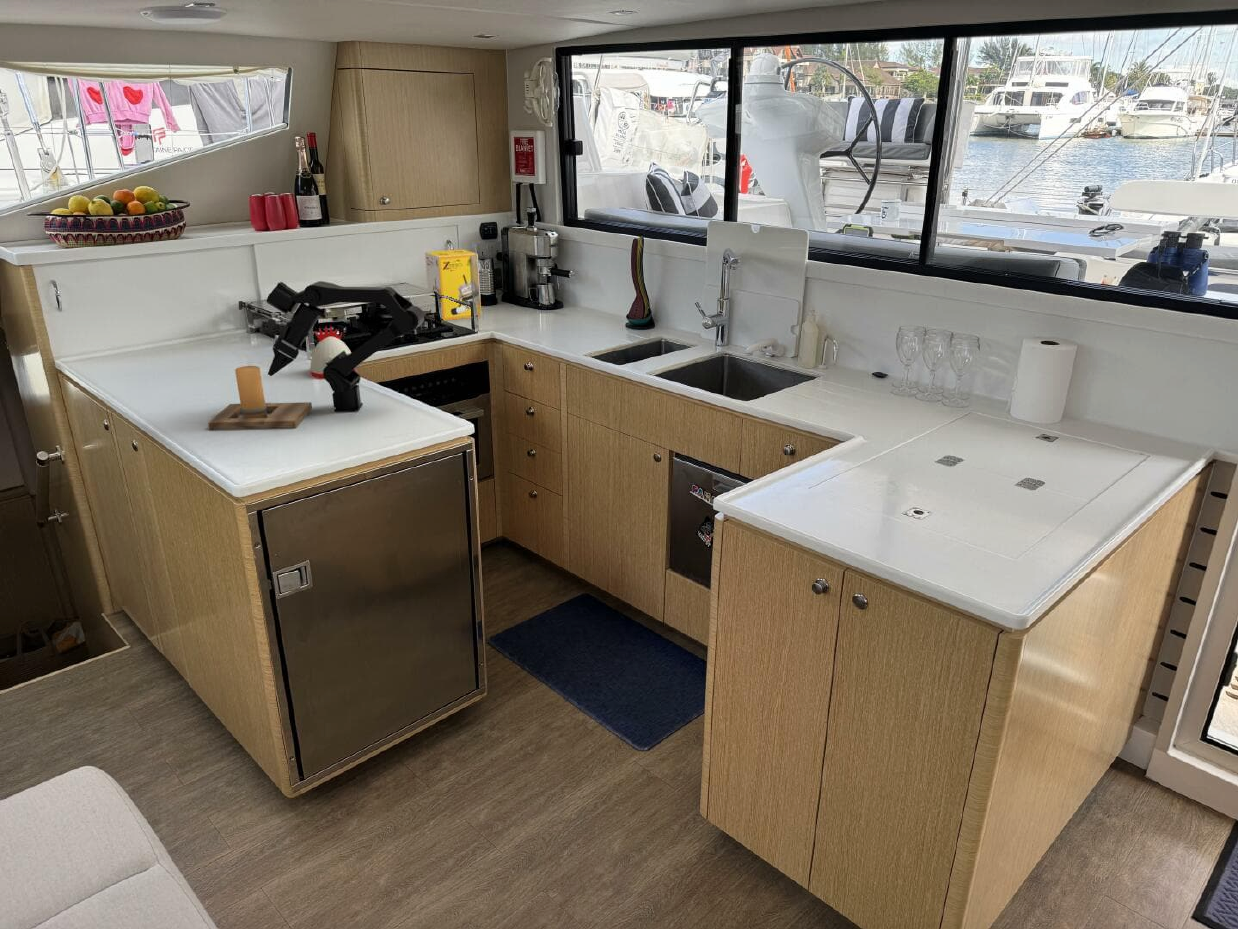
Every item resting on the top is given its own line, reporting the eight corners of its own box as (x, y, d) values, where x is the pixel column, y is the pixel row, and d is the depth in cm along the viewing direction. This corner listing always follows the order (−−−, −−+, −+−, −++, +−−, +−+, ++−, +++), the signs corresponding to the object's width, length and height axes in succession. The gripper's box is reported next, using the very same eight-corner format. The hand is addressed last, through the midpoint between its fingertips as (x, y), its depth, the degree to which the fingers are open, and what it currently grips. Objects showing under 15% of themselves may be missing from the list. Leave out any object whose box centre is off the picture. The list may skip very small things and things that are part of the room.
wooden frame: (312, 409, 242) (311, 402, 241) (295, 428, 227) (294, 420, 227) (231, 410, 241) (230, 403, 240) (209, 429, 226) (208, 422, 225)
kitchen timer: (307, 370, 280) (301, 324, 274) (351, 365, 286) (346, 319, 280) (315, 381, 268) (309, 333, 263) (360, 375, 274) (355, 328, 269)
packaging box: (481, 316, 356) (477, 253, 347) (443, 320, 348) (438, 257, 339) (467, 309, 369) (463, 249, 360) (429, 313, 361) (424, 251, 352)
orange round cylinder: (271, 415, 237) (263, 365, 232) (263, 423, 231) (255, 371, 226) (247, 415, 237) (239, 365, 232) (239, 423, 231) (230, 372, 226)
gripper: (274, 306, 239) (243, 354, 239) (271, 308, 222) (239, 360, 222) (311, 328, 243) (281, 375, 243) (312, 332, 226) (279, 383, 226)
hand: (270, 373), depth 233 cm, fingers open, 9 cm apart
